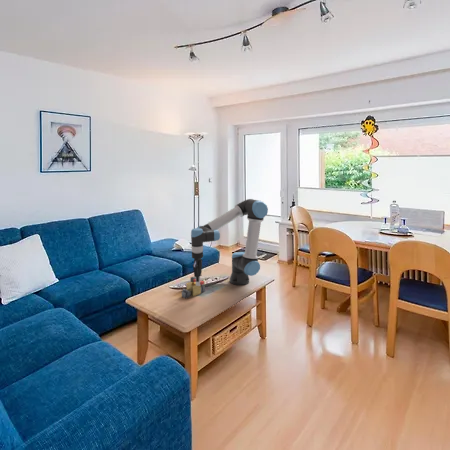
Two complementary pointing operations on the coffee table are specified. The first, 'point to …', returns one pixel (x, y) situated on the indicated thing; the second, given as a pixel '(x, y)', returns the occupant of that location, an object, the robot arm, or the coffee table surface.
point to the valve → (192, 290)
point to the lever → (193, 279)
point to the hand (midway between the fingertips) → (198, 285)
